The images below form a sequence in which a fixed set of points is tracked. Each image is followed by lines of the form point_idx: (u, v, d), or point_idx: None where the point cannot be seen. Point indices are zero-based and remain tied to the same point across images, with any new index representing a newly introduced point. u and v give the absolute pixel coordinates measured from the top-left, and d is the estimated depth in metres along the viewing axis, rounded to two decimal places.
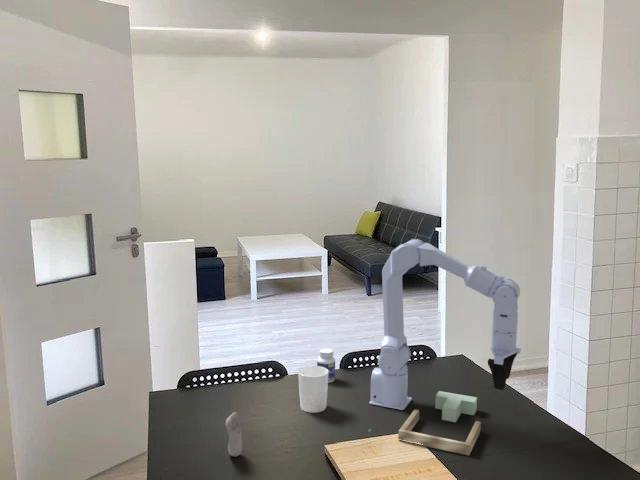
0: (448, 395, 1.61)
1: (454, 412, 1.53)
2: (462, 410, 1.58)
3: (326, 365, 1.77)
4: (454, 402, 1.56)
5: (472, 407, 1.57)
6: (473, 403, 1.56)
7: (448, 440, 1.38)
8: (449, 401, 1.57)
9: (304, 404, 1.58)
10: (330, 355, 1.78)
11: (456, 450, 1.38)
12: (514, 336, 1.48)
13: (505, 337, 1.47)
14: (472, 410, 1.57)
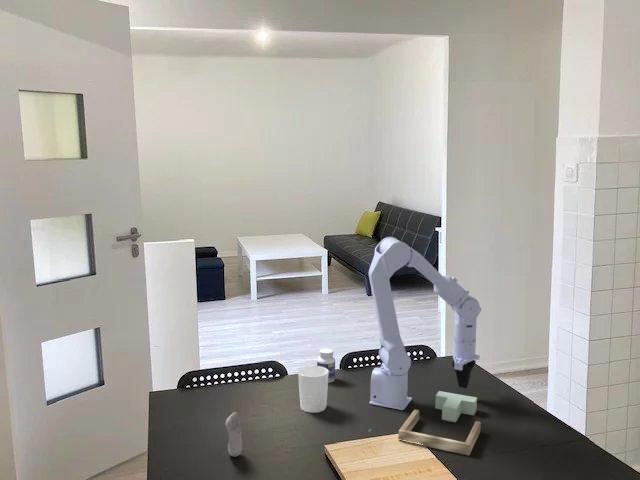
0: (448, 395, 1.61)
1: (454, 412, 1.53)
2: (462, 410, 1.58)
3: (326, 365, 1.77)
4: (454, 402, 1.56)
5: (472, 407, 1.57)
6: (473, 403, 1.56)
7: (448, 440, 1.38)
8: (449, 401, 1.57)
9: (304, 404, 1.58)
10: (330, 355, 1.78)
11: (456, 450, 1.38)
12: (473, 344, 1.63)
13: (465, 345, 1.62)
14: (472, 410, 1.57)
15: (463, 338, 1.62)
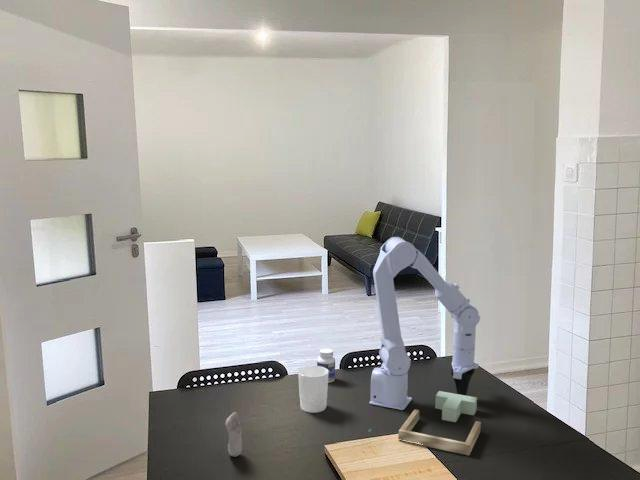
0: (448, 395, 1.61)
1: (454, 412, 1.53)
2: (462, 410, 1.58)
3: (326, 365, 1.77)
4: (454, 402, 1.56)
5: (472, 407, 1.57)
6: (473, 403, 1.56)
7: (448, 440, 1.38)
8: (449, 401, 1.57)
9: (304, 404, 1.58)
10: (330, 355, 1.78)
11: (456, 450, 1.38)
12: (472, 353, 1.63)
13: (464, 354, 1.62)
14: (472, 410, 1.57)
15: (462, 347, 1.62)
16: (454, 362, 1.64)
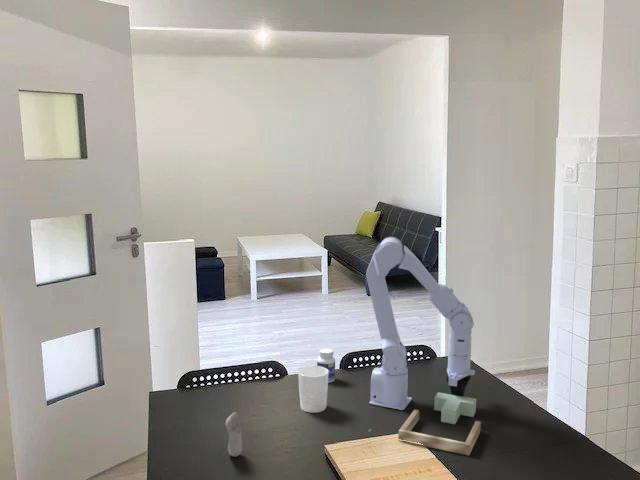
0: (447, 396, 1.60)
1: (453, 414, 1.52)
2: (461, 412, 1.57)
3: (326, 365, 1.77)
4: (453, 404, 1.55)
5: (472, 409, 1.56)
6: (472, 405, 1.55)
7: (448, 440, 1.38)
8: (448, 403, 1.56)
9: (304, 404, 1.58)
10: (330, 355, 1.78)
11: (456, 450, 1.38)
12: (468, 359, 1.58)
13: (459, 360, 1.57)
14: (471, 412, 1.56)
15: (454, 352, 1.58)
16: (449, 369, 1.59)
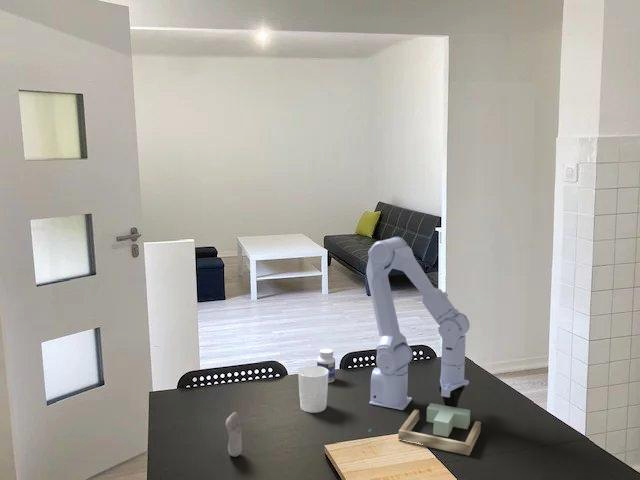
0: (440, 407, 1.53)
1: (446, 426, 1.45)
2: (455, 423, 1.50)
3: (326, 365, 1.77)
4: (446, 415, 1.48)
5: (465, 421, 1.49)
6: (466, 416, 1.49)
7: (448, 440, 1.38)
8: (441, 414, 1.49)
9: (304, 404, 1.58)
10: (330, 355, 1.78)
11: (456, 450, 1.38)
12: (461, 368, 1.51)
13: (453, 370, 1.51)
14: (465, 424, 1.49)
15: (443, 360, 1.52)
16: (442, 378, 1.53)
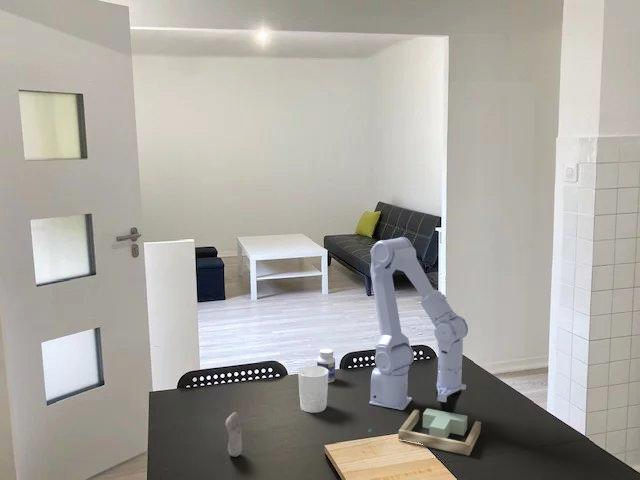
0: (437, 413, 1.50)
1: (442, 432, 1.42)
2: (451, 430, 1.47)
3: (326, 365, 1.77)
4: (442, 421, 1.45)
5: (462, 427, 1.46)
6: (463, 422, 1.46)
7: (448, 440, 1.38)
8: (437, 420, 1.46)
9: (304, 404, 1.58)
10: (330, 355, 1.78)
11: (456, 450, 1.38)
12: (459, 373, 1.48)
13: (449, 374, 1.48)
14: (462, 430, 1.46)
15: (439, 363, 1.50)
16: (439, 383, 1.50)
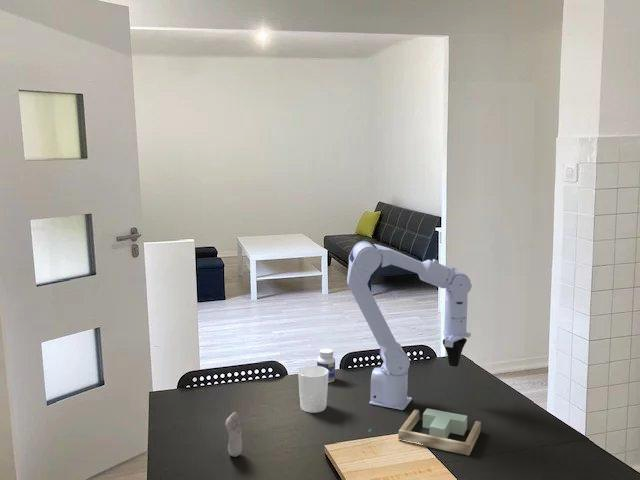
0: (437, 413, 1.50)
1: (442, 433, 1.42)
2: (451, 430, 1.47)
3: (326, 365, 1.77)
4: (442, 421, 1.45)
5: (462, 427, 1.46)
6: (463, 422, 1.46)
7: (448, 440, 1.38)
8: (437, 420, 1.46)
9: (304, 404, 1.58)
10: (330, 355, 1.78)
11: (456, 450, 1.38)
12: (464, 321, 1.60)
13: (455, 322, 1.60)
14: (462, 430, 1.46)
15: (453, 315, 1.59)
16: (446, 331, 1.62)
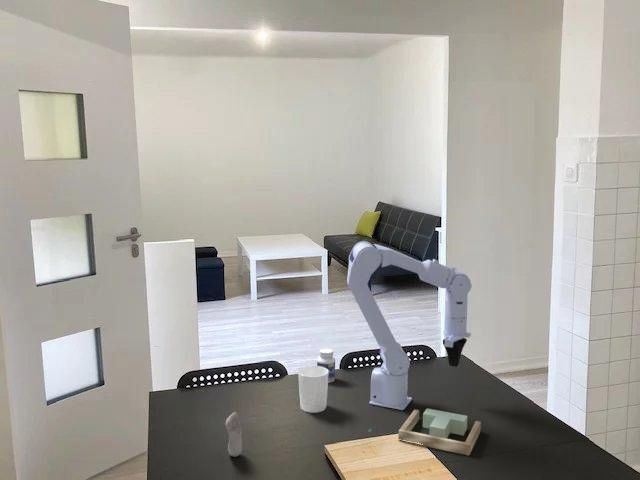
0: (437, 413, 1.50)
1: (442, 432, 1.42)
2: (451, 430, 1.47)
3: (326, 365, 1.77)
4: (442, 421, 1.45)
5: (462, 427, 1.46)
6: (463, 422, 1.46)
7: (448, 440, 1.38)
8: (437, 420, 1.46)
9: (304, 404, 1.58)
10: (330, 355, 1.78)
11: (456, 450, 1.38)
12: (464, 321, 1.60)
13: (455, 322, 1.60)
14: (462, 430, 1.46)
15: (453, 315, 1.59)
16: (446, 331, 1.62)
